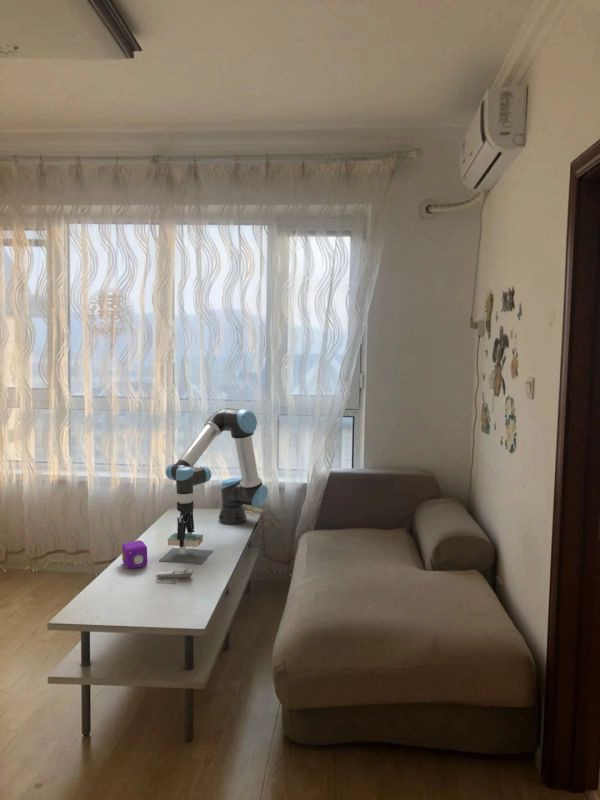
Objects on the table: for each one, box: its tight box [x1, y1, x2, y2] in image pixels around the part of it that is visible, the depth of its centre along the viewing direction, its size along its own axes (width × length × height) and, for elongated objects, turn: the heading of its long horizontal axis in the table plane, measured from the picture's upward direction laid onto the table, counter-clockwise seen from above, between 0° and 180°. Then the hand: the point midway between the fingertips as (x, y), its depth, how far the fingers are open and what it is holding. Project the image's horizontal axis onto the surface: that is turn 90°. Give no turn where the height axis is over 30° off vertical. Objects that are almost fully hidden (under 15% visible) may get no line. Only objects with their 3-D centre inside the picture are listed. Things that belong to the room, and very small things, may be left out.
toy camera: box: [121, 539, 148, 569], centre depth 256 cm, size 11×14×10 cm
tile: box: [167, 532, 204, 548], centre depth 267 cm, size 8×3×14 cm
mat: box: [158, 547, 214, 565], centre depth 267 cm, size 16×20×1 cm
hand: (186, 549), depth 267 cm, fingers closed on tile, 8 cm apart
